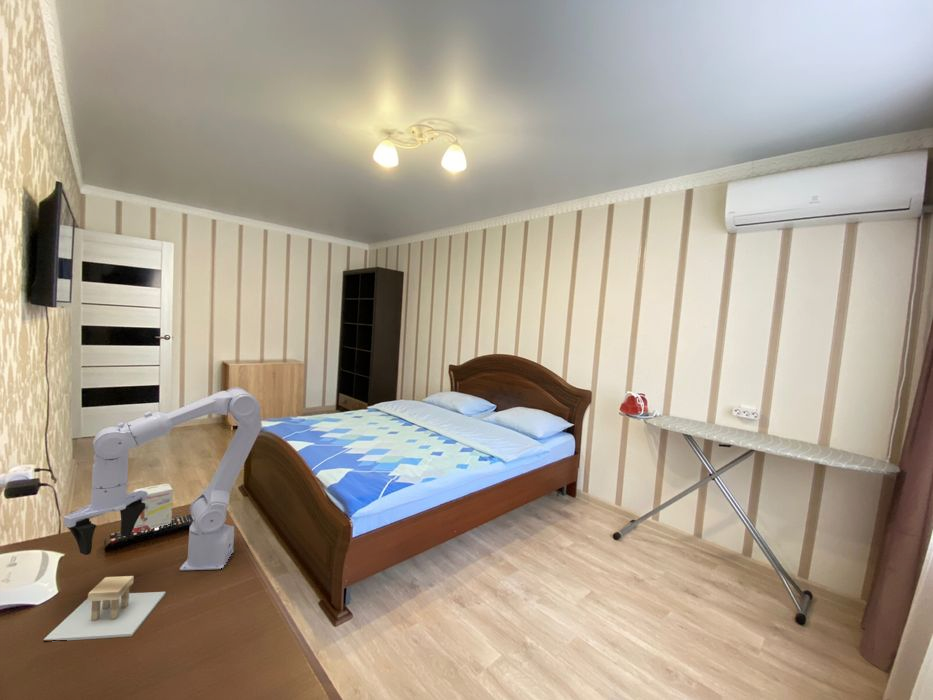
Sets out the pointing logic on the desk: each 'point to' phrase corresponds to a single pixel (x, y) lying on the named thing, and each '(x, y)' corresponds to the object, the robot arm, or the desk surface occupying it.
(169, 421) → the robot arm
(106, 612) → the light grey mat
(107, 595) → the birch stool
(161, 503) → the ink box
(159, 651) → the desk surface
